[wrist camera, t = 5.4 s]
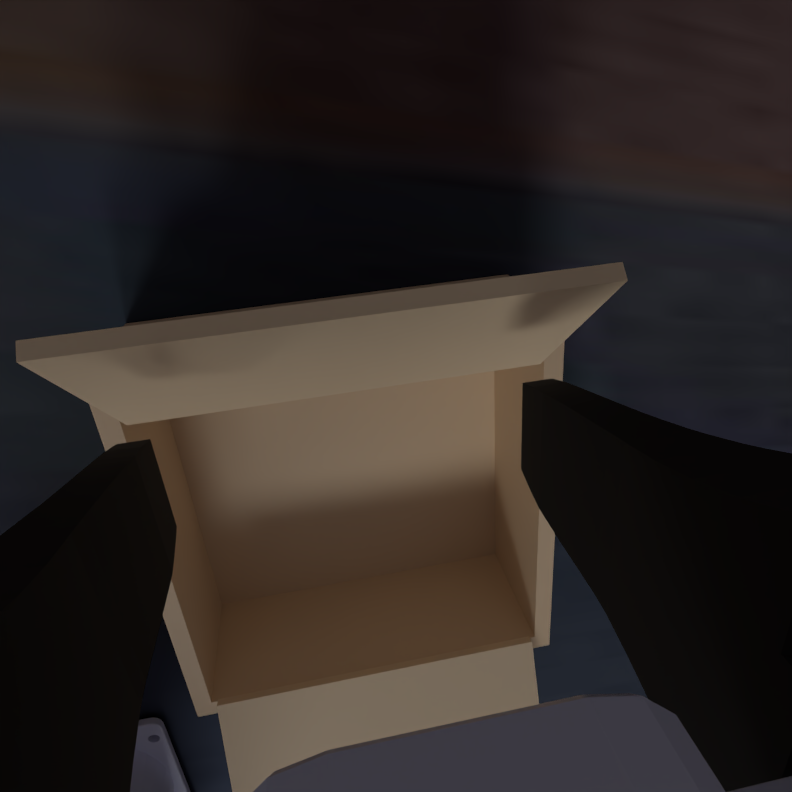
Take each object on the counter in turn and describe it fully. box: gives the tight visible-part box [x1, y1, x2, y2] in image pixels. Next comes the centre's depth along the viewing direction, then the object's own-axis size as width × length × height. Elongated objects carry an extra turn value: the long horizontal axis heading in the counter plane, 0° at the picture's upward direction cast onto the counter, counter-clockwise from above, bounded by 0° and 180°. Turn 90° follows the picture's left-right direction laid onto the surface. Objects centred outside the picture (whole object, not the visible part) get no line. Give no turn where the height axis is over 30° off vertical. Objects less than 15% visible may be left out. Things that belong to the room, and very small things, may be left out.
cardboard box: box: [89, 274, 564, 717], centre depth 22 cm, size 13×13×5 cm
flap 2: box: [217, 637, 539, 792], centre depth 22 cm, size 6×11×1 cm, turn 94°
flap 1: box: [16, 262, 628, 425], centre depth 14 cm, size 6×11×1 cm
